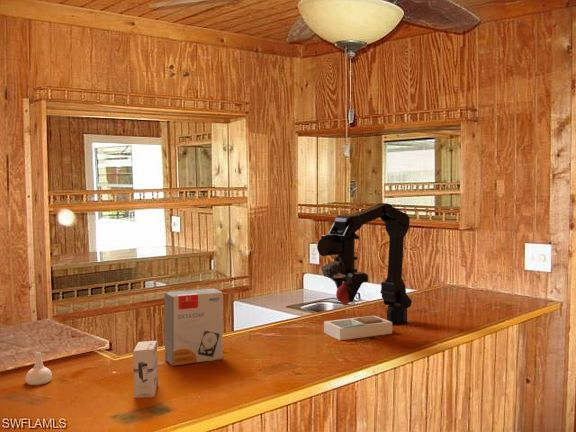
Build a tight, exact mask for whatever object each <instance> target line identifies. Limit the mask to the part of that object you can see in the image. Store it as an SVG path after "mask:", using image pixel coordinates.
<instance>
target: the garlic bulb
mask: <svg viewBox="0 0 576 432" xmlns="http://www.w3.org/2000/svg"><path fill="white" fill-rule="evenodd" d="M51 380H52V371H51V370H50V368H48V367H46V366H44V362H43V358H42V354H41V352H40V351H37V352H35V361H34V366H33V367H32V368H31V369H29V370H28V372H27V373H26V375H25V382H26V384H28V385H30V386H40V385H45V384H48V383H49V382H50V381H51Z"/></svg>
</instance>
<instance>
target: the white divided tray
mask: <svg viewBox="0 0 576 432" xmlns="http://www.w3.org/2000/svg"><path fill="white" fill-rule="evenodd" d="M323 333H324V334H326V335H328V336H330V337H332V338H334V339H337V340H338V341H344V340H346V341H347V340H352V339H354V340H355V339H359V338H360V339H361V338H367V337H368V338H369V337H374V336H382V335H383V336H384V335H389V334H393V324H392V322H391V321H388V320H387V319H385V318H382V317H379V316H376V315H369V316H368V315H367V316H360V317H352V318H341V319H336V320H335V319H334V320H325V321H323Z"/></svg>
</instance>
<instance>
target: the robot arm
mask: <svg viewBox="0 0 576 432" xmlns="http://www.w3.org/2000/svg"><path fill="white" fill-rule="evenodd" d="M410 218H411V217H410V216H409V215H408V214H407V213H406V212H404V211H402V210H400V209H399V208H396V207H394V206H392V205H391V204H390V203H387V202H386V203H385V202H378V203H377V204H376V205H372V206H370V207H367V208H366V209H363V210H361V211H358V212H355V213H350V214H346V213H345V214H340V215H337V216H336V217H335V219H334V222H333V223H332V226H331V227H330V230H329V231H328V234H321V235H320V236H321V237H320V239H319V240H318V242H317V244H316V248H317V249H316V250H317V252H318V254H319V255H320V256H321V257H329V256H334V257H333V261H332V262H329V263H327V264H324V265H322V266H321V267H320V269H321V272H322V274H323V277H324V278H327V279H330V280H331V281H333V282H334V284H335V286H336V290H337V289H338V288H339V287H340V286H341V285H342V283H343V281H344V283H345V284H346V285H347V287H348V295H349V302H350V303H352V302H354V300H355V298H356V296H357V294H358V292H359V289H360V288H361V286H362V284H364V283H369V275H368V274H367V273H366V272H363V271H358V268H355V267H356V265H355V263H356V261H357V260H358V256H356V253H355V251H356V248H355V246H356V245H355V244H356V242H355V240H360V236H359V235H358V234H356V232H358V231H359V230H360V229H361V228H362V226H364V225H365V224H368V223H370V222H372V221H374V220H375V221H376V220H377V219H380V220H381V221H382V222H384V225H385V227H384V228H385V231H386V233H387V236H388V239H389V240H388V241H389V242H388V260H387V261H388V262H387V264H388V265H387V277H386V279H385V280H384V281H381V283H380V287H381V288H380V292H379V293H380V294H381V298H382V301H383V303H384V305H385V306H387V310H386V320H388V321H391V322H392V326H399V325H407V324H410V323H411V322H410V321H408V309H409V308H410V307H412V302H413V300H412V299H411V298H410V297H409V295H408V294H407V289H406V284H405V283H404V280H403V278H402V277H403V259H404V257H403V256H404V239H405V237H406V235H407V233H408V232H409V230H410V229H409V228H410V223H411V219H410Z"/></svg>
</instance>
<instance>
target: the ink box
mask: <svg viewBox="0 0 576 432" xmlns="http://www.w3.org/2000/svg"><path fill="white" fill-rule="evenodd" d="M132 356H133V362H132V363H133V393H134V394H133V397H134V398H135V399H137V398H140V399H141V398H154V397H155V396H156V392H157V391H158V390H157V389H158V387H159V371H158V370H159V369H158V368H159V367H158V340H147V341H146V340H145V341H138V342H137V344H136V346H135V348H134V349H133V352H132Z"/></svg>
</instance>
